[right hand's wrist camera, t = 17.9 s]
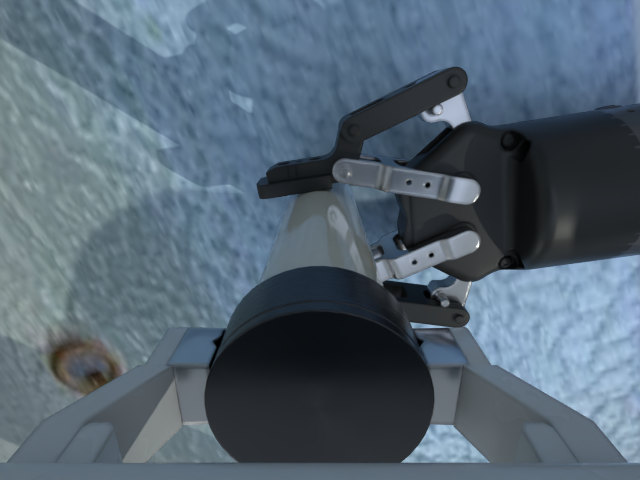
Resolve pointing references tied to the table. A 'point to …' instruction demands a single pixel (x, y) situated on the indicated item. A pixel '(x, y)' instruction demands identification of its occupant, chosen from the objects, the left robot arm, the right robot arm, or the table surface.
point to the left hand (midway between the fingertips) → (271, 233)
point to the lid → (319, 373)
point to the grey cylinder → (321, 234)
